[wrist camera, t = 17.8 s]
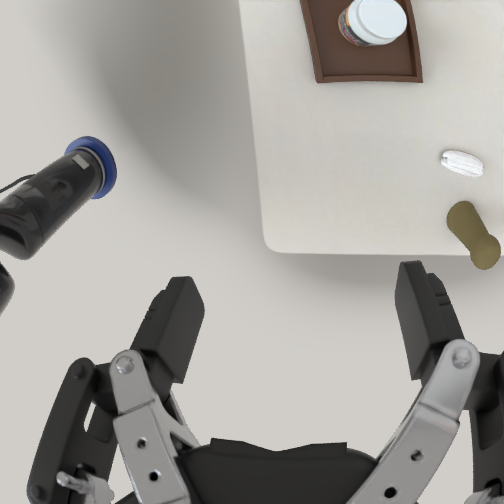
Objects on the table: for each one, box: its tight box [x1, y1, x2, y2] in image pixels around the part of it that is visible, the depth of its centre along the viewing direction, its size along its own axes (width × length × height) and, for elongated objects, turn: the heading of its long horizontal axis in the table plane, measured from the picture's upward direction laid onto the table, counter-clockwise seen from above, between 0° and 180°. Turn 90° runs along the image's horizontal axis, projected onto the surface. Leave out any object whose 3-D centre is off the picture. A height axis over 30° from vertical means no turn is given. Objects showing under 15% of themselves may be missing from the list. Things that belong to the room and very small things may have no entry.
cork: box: [447, 201, 501, 270], centre depth 33 cm, size 6×6×11 cm
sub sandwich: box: [441, 150, 484, 177], centre depth 31 cm, size 3×8×3 cm, turn 89°
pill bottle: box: [338, 0, 407, 47], centre depth 20 cm, size 6×6×10 cm
